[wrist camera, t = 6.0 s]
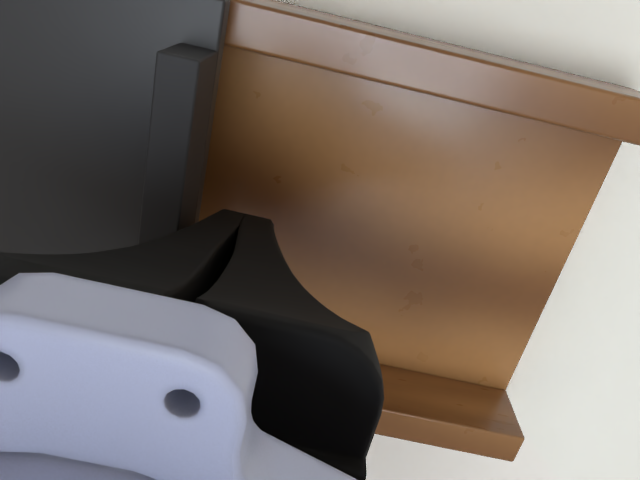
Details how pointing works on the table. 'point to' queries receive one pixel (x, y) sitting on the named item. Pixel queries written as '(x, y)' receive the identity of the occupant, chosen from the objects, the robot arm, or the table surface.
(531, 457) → the table surface
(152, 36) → the lid
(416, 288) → the brown wooden shelf
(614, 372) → the table surface
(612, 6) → the table surface
